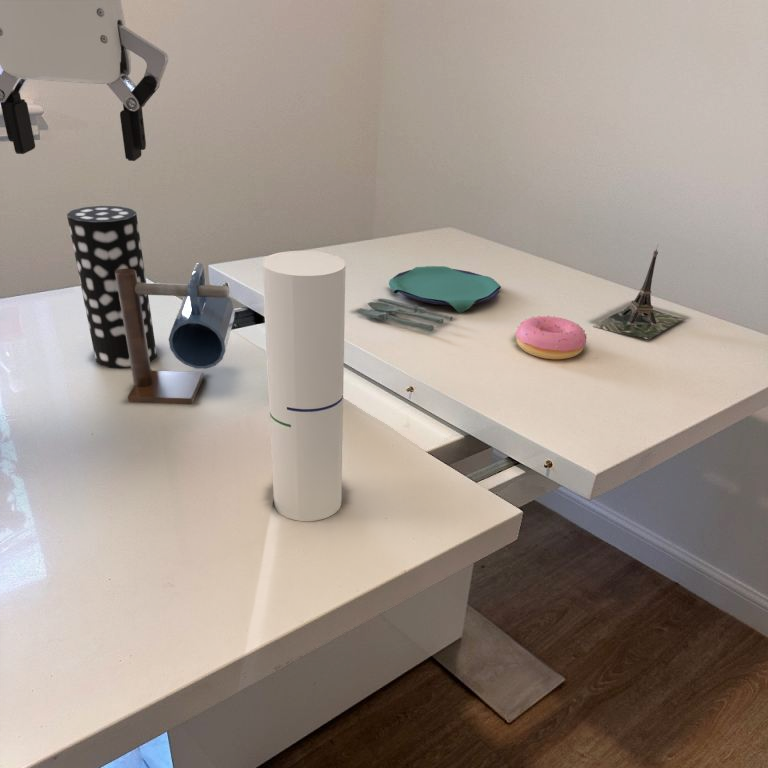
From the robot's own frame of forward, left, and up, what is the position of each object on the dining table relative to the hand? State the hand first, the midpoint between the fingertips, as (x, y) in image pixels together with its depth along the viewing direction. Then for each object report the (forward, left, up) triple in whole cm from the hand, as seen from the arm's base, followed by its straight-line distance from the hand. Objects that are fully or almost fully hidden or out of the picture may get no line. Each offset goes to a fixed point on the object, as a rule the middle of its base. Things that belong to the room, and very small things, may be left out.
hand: (80, 154), depth 66 cm
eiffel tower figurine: (+75, +47, -31) cm, 93 cm away
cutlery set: (+39, +54, -31) cm, 73 cm away
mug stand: (+3, +14, -31) cm, 34 cm away
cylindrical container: (+21, -10, -31) cm, 39 cm away
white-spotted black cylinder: (-7, +24, -31) cm, 40 cm away
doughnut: (+56, +34, -31) cm, 73 cm away
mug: (+6, +20, -20) cm, 29 cm away
